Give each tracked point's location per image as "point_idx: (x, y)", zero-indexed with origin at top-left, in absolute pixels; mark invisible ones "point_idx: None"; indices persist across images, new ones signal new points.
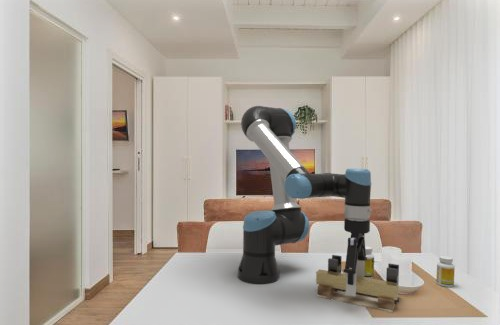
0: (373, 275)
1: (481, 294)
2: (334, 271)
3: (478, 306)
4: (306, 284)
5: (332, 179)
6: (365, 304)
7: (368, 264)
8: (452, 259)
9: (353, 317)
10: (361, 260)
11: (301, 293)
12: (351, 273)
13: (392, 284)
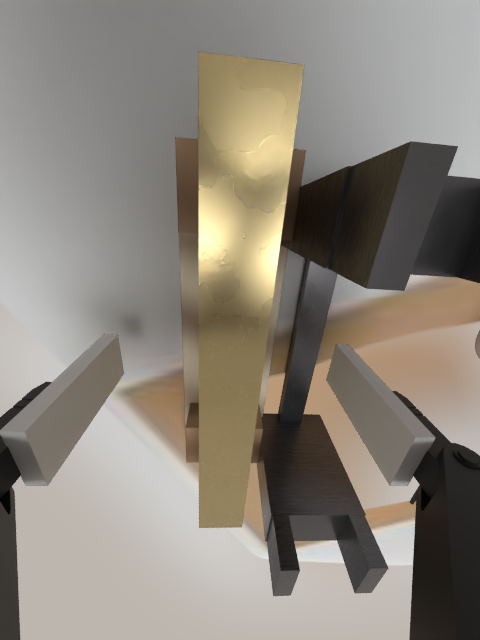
0: None
1: (394, 552)
2: (317, 240)
3: (320, 547)
4: (344, 13)
5: None
6: (191, 369)
7: None
8: None
9: (69, 345)
10: (415, 470)
11: (169, 24)
12: None
13: (213, 516)
